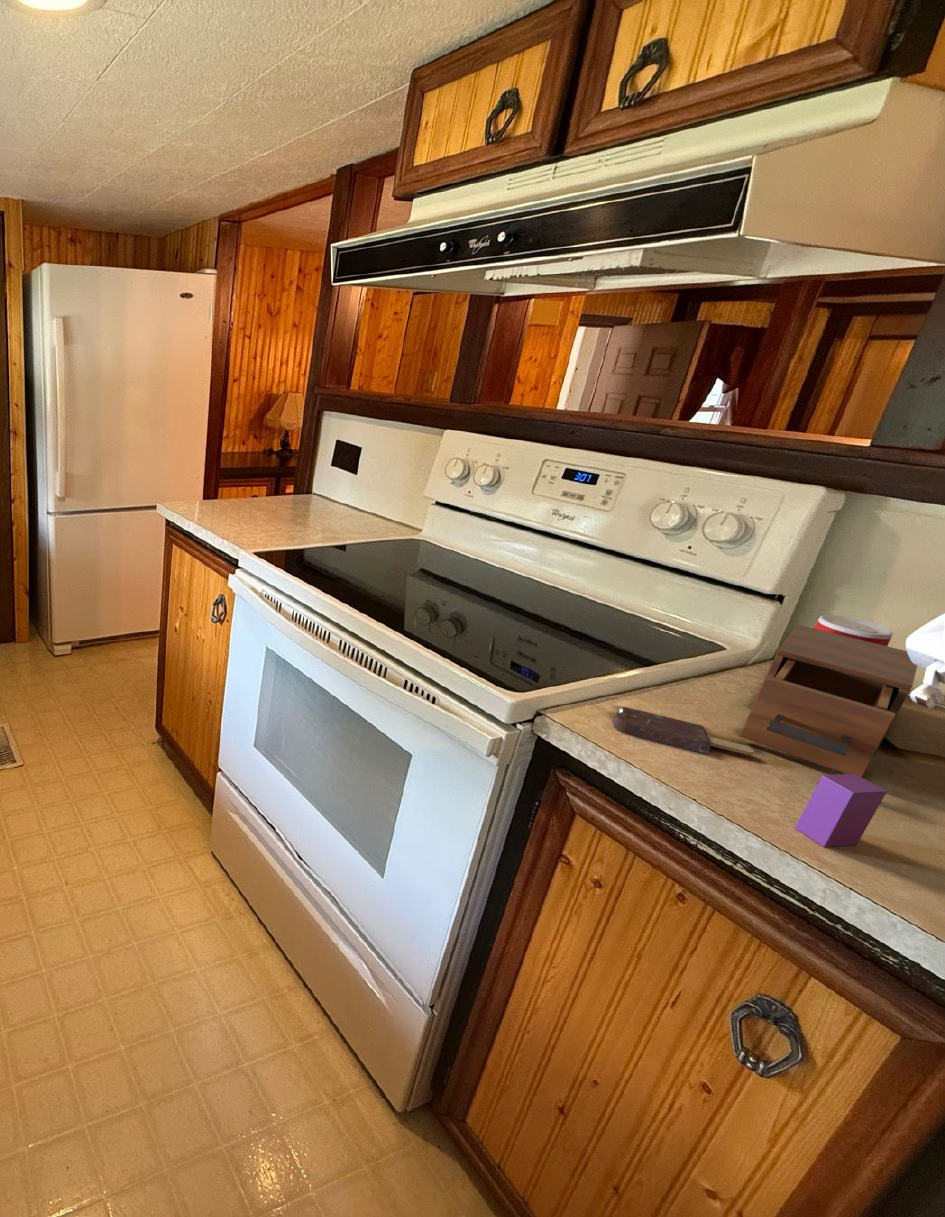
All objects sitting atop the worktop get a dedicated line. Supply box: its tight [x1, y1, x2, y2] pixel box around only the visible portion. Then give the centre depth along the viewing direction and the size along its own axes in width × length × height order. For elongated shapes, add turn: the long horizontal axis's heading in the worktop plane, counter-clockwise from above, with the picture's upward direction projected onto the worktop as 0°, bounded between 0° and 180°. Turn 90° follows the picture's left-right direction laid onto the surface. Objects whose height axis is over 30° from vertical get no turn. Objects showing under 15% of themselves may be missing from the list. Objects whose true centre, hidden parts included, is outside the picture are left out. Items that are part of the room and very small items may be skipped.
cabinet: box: [750, 624, 919, 757], centre depth 93 cm, size 16×13×11 cm
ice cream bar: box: [612, 706, 755, 756], centre depth 87 cm, size 5×2×15 cm
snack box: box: [794, 773, 888, 848], centre depth 69 cm, size 4×3×7 cm
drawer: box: [739, 658, 896, 778], centre depth 84 cm, size 19×11×9 cm, turn 129°
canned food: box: [813, 614, 894, 647], centre depth 101 cm, size 8×8×11 cm
